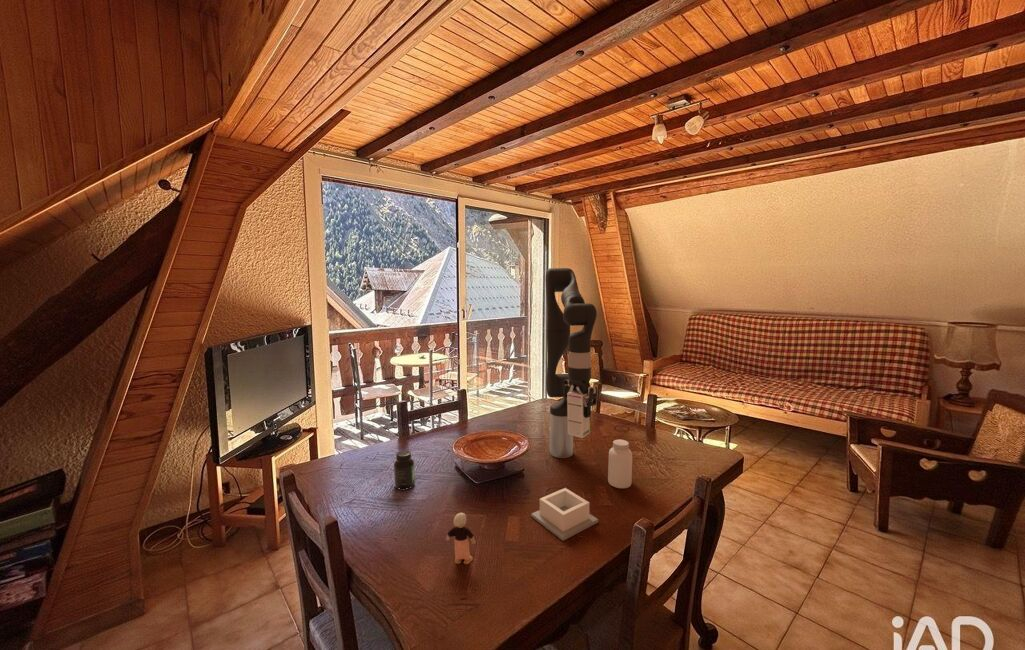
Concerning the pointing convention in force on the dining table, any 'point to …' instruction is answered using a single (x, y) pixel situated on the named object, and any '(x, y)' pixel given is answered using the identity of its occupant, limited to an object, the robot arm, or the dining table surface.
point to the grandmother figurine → (461, 539)
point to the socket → (564, 514)
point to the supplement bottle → (404, 470)
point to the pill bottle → (620, 465)
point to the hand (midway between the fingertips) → (579, 413)
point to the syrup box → (577, 415)
